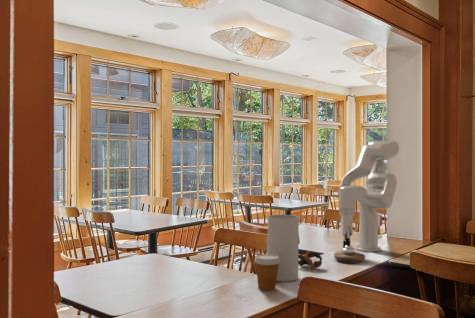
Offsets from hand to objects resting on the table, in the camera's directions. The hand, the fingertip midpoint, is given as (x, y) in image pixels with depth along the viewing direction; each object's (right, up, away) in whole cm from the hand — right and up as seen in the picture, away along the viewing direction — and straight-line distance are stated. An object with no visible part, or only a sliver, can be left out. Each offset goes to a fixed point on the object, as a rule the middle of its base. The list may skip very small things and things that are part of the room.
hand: (346, 249), depth 227 cm
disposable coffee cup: (-43, -4, -55) cm, 69 cm away
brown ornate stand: (-23, -4, -23) cm, 32 cm away
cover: (0, -1, -5) cm, 5 cm away
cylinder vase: (-35, -4, -40) cm, 54 cm away
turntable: (-1, -4, -8) cm, 9 cm away
